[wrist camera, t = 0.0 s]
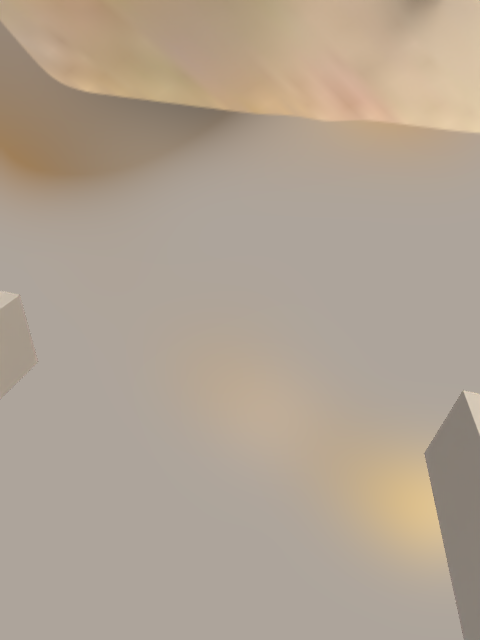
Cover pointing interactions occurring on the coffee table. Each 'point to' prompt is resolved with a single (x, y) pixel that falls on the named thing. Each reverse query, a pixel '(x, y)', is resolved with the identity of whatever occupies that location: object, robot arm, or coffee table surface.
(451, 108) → the coffee table surface
